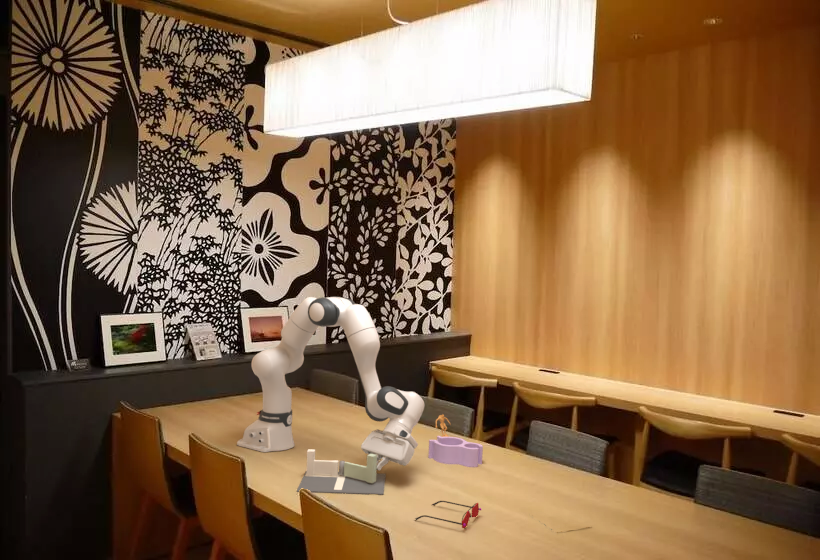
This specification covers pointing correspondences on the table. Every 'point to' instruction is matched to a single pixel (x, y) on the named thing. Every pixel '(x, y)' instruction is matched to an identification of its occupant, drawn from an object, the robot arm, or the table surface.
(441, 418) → the figurine
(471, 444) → the lilac double-ring holder
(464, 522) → the glasses
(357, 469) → the gate
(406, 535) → the table surface
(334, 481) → the board
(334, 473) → the fixed fence
